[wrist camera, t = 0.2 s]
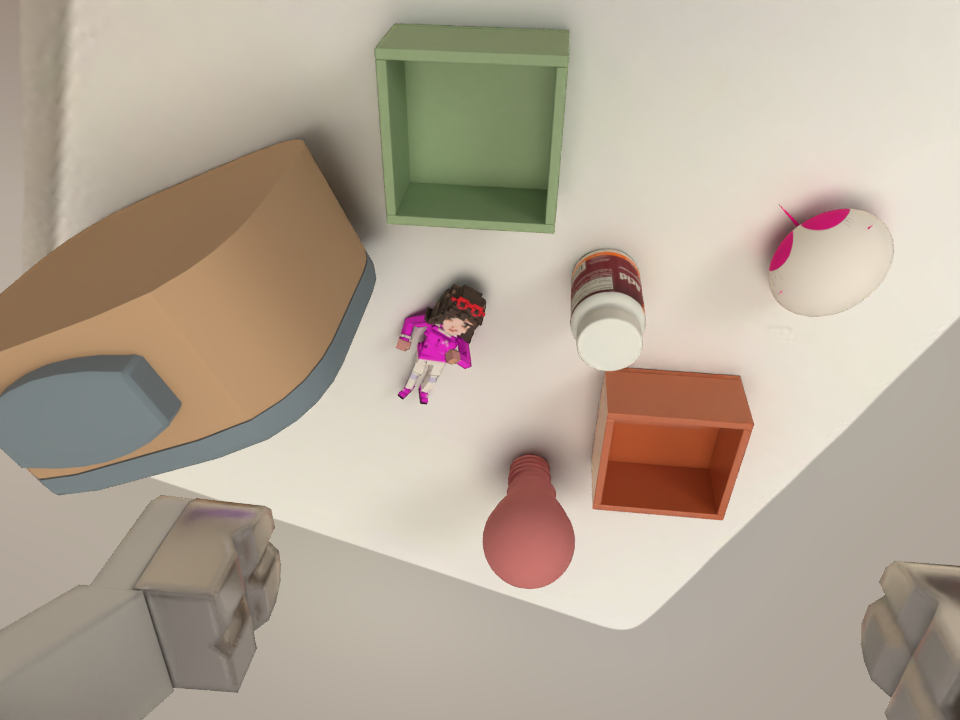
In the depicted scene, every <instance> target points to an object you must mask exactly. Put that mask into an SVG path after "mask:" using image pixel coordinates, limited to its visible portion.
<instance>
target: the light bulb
mask: <svg viewBox="0 0 960 720" xmlns="http://www.w3.org/2000/svg"><path fill="white" fill-rule="evenodd" d="M508 486H509V487H508V489H507V495H506V496H505V497H504V498H503V499H502V500H501V501H500V502H499V504H498V505H497V506H496V508H495V509H494V510H493V512H492V513H491V514H490V516H489V518H488V520H487V522H486V525H485V528H484V532H483V549H484V553H485V557H486V559H487V562H488V564H489V565H490V567H491V569H492V570H493V571H494V572H495V574H496V575H497V576H499V577H500V578H501V579H502V580H503V581H505V582H506V583H508V584H510V585H512V586H515V587H519V588H525V589H534V588H540V587H544V586H546V585H549V584H551V583H552V582H554V581H555V580H557V579H558V578H559V577H560V576H561V575H562V574H563V573H564V572H565V571H566V569H567V568H568V566H569V564H570V562H571V560H572V557H573V553H574V548H575V536H574V531H573V527H572V524H571V522H570V520H569V518H568V516H567V515H566V513H565V511H564V509H563V508H562V506H561V505H560V503H559V502H558V501H557V499H556V491H555V488H554V486H553V485H552V484H551V476H550V467H549V464H548V463H547V462H546V461H545V460H544V459H543V458H541V457H539V456H535V455H524V456H521V457H519V458H517V459H516V460H514V461H513V462H512V464H511V466H510V472H509V478H508Z"/></svg>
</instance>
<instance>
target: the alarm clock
mask: <svg viewBox="0 0 960 720" xmlns="http://www.w3.org/2000/svg"><path fill="white" fill-rule="evenodd" d="M375 281H376V274H375V268H374V264H373V262H372V260H371V259H370V257H369V255H368V253H367V252H366V251H365V248H364V246H363V245H362V243H361V241H360V239H359V238H358V236H357V234H356V232H355V231H354V229H353V227H352V225H351V224H350V222H349V220H348V218H347V216H346V215H345V213H344V211H343V209H342V208H341V206H340V204H339V202H338V201H337V199H336V197H335V195H334V194H333V192H332V190H331V188H330V187H329V185H328V183H327V181H326V180H325V178H324V176H323V174H322V173H321V171H320V169H319V167H318V166H317V164H316V162H315V160H314V159H313V157H312V155H311V153H310V152H309V150H308V148H307V146H306V144H305V143H304V141H302V140H298V139H295V140H290V141H284V142H280V143H278V144H275V145H272V146H270V147H267V148H264V149H262V150H259V151H256V152H254V153H251V154H248V155H246V156H243V157H241V158H239V159H236V160H234V161H232V162H229V163H227V164H224V165H222V166H220V167H217V168H215V169H213V170H210V171H208V172H206V173H203V174H201V175H199V176H196V177H194V178H192V179H189V180H187V181H185V182H182V183H180V184H178V185H175V186H173V187H171V188H168V189H166V190H163V191H161V192H159V193H156V194H154V195H152V196H149V197H147V198H145V199H143V200H141V201H139V202H137V203H134V204H132V205H130V206H128V207H126V208H124V209H122V210H120V211H117V212H115V213H113V214H111V215H109V216H107V217H106V218H104V219H102V220H100V221H99V222H97V223H95V224H93V225H91V226H90V227H88V228H86V229H85V230H83V231H81V232H80V233H78V234H77V235H75V236H74V237H72V238H71V239H69V240H67V241H66V242H65V243H63V244H62V245H60V246H59V247H58V248H56V249H55V250H53V251H52V252H51V253H49V254H48V255H47V256H45V257H44V258H43V259H42V260H40V261H39V262H38V263H37V264H35V265H34V266H33V267H32V268H30V269H29V270H28V271H27V272H26V273H25V274H23V275H22V276H21V277H20V278H19V279H18V280H16V281H15V282H14V283H13V284H12V285H11V286H9V287H8V288H7V289H6V290H5V291H3V292H2V293H1V294H0V448H1V449H2V450H3V451H4V452H5V453H6V454H7V455H8V456H9V457H11V458H12V459H13V460H14V461H15V462H16V463H17V464H18V465H19V466H20V467H21V468H26V469H27V470H28V471H29V472H31V474H32V475H34V476H35V477H36V478H37V479H38V480H39V481H40V482H41V483H42V484H43V485H44V486H46V487H47V488H48V489H49V490H50V491H52V492H53V493H55V494H57V495H65V494H73V493H81V492H89V491H97V490H102V489H105V488H109V487H113V486H117V485H121V484H124V483H128V482H131V481H135V480H139V479H143V478H147V477H150V476H154V475H158V474H161V473H165V472H169V471H173V470H176V469H180V468H184V467H187V466H191V465H195V464H199V463H202V462H206V461H210V460H213V459H217V458H220V457H223V456H225V455H228V454H231V453H233V452H236V451H239V450H241V449H244V448H246V447H249V446H252V445H254V444H257V443H260V442H262V441H265V440H267V439H269V438H271V437H272V436H274V435H276V434H277V433H279V432H280V431H282V430H283V429H285V428H286V427H288V426H289V425H291V424H292V423H294V422H296V421H297V420H298V419H299V418H300V417H302V416H303V415H304V414H305V413H306V412H307V411H308V410H309V409H310V408H311V407H313V406H314V405H315V404H316V403H317V402H318V401H319V399H320V398H321V397H322V395H323V394H324V393H325V392H326V390H327V389H328V388H329V386H330V385H331V384H332V382H333V381H334V379H335V377H336V376H337V374H338V372H339V370H340V368H341V366H342V364H343V362H344V360H345V357H346V355H347V353H348V350H349V348H350V345H351V343H352V341H353V338H354V336H355V333H356V331H357V328H358V326H359V324H360V321H361V319H362V316H363V314H364V312H365V309H366V307H367V304H368V302H369V300H370V297H371V295H372V292H373V289H374V285H375Z"/></svg>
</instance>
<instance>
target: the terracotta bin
mask: <svg viewBox="0 0 960 720" xmlns="http://www.w3.org/2000/svg"><path fill="white" fill-rule="evenodd" d="M753 426H754V422H753V419H752V415H751V412H750V409H749V405H748V402H747V398H746V395H745V392H744V388H743V385H742V381H741V378H740V376H733V375H719V374H705V373H691V372H677V371H663V370H649V369H635V368H623V369H620V370H616V371H604V377H603V383H602V390H601V397H600V404H599V411H598V417H597V424H596V431H595V438H594V445H593V451H592V458H591V472H592V508H593V509H597V510H609V511H620V512H632V513H644V514H655V515H667V516H679V517H690V518H702V519H714V520H723V519H724V515H725V512H726V509H727V506H728V503H729V500H730V497H731V494H732V491H733V488H734V485H735V481H736V478H737V475H738V472H739V469H740V466H741V463H742V460H743V457H744V454H745V451H746V448H747V445H748V441H749V438H750V435H751V432H752V429H753Z"/></svg>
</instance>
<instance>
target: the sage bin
mask: <svg viewBox="0 0 960 720" xmlns="http://www.w3.org/2000/svg"><path fill="white" fill-rule="evenodd" d="M375 59H376V60H375V63H376V76H377V90H378V104H379V118H380V132H381V146H382V160H383V174H384V188H385V202H386V214H387V224H398V225H415V226H432V227H449V228H466V229H483V230H500V231H517V232H535V233H552V234H554V232H555V220H556V208H557V195H558V183H559V171H560V159H561V147H562V135H563V123H564V110H565V98H566V86H567V74H568V62H569V30H553V29H526V28H500V27H473V26H447V25H420V24H394V25H393V27H392V28H391V29H390V30H389V31H388V33H387V34H386V35H385V36H384V37H383V39H382V40H381V41H380V42H379V43H378V45H377V46H376V47H375Z"/></svg>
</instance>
